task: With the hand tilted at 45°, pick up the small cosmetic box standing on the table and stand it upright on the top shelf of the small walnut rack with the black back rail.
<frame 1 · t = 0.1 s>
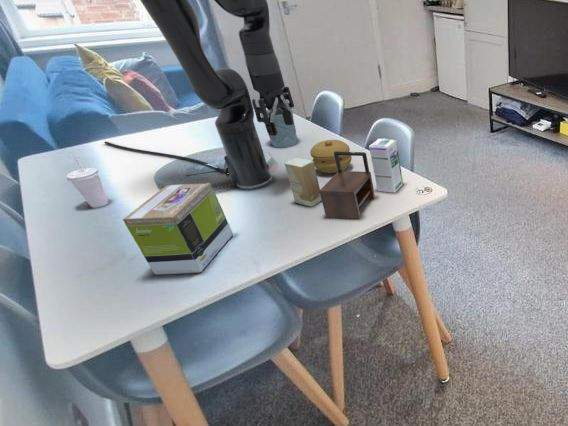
hand: (281, 129, 120), 17 cm above the table, tool pointing down, fingers open, 8 cm apart
pot: (334, 170, 137), on the table
blue-grey planter: (285, 143, 157), on the table
syrup box: (390, 188, 127), on the table
cosmetic box: (309, 202, 119), on the table
smoothie: (100, 205, 118), on the table
tea box: (196, 255, 98), on the table
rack: (351, 206, 117), on the table
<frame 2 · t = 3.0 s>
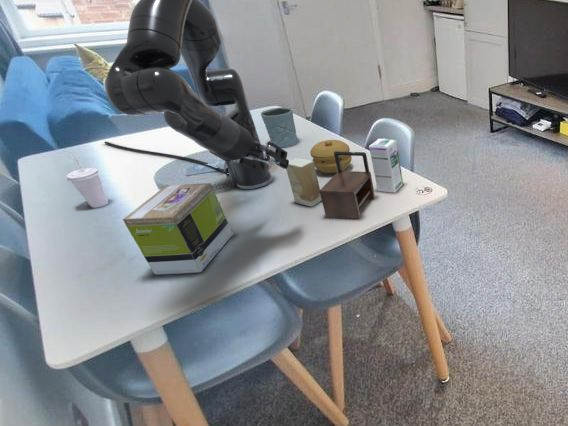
hand: (269, 164, 100), 17 cm above the table, tool tilted 45°, fingers open, 8 cm apart
nothing on the table moved.
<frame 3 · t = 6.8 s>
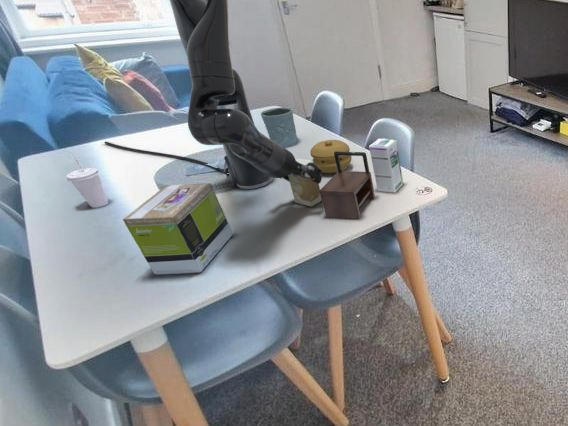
hand: (306, 179, 117), 6 cm above the table, tool tilted 45°, fingers closed on cosmetic box, 7 cm apart
cosmetic box: (309, 202, 119), on the table, touching gripper
everything else where it was.
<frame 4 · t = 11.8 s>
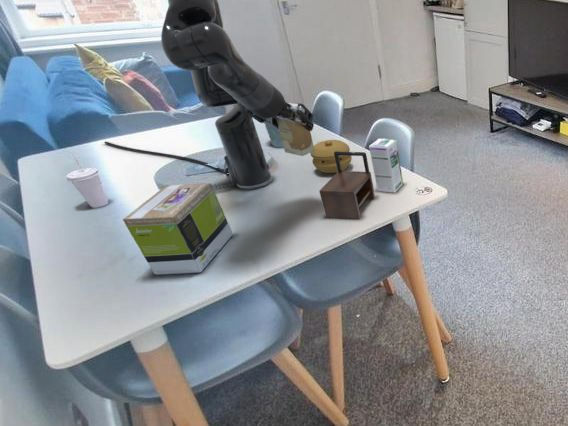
hand: (296, 127, 109), 22 cm above the table, tool tilted 45°, fingers closed on cosmetic box, 7 cm apart
cosmetic box: (300, 152, 111), point 15 cm above the table, touching gripper
everything else where it was.
when the fingers open (14 cm above the table, at t = 16.8 s): cosmetic box stays where it is, resting on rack.
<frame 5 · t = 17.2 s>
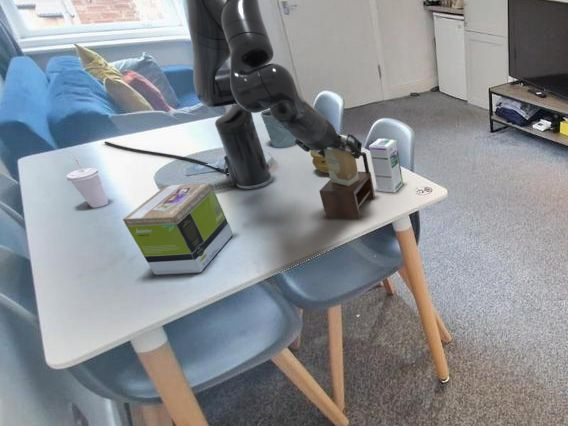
hand: (342, 154, 110), 15 cm above the table, tool tilted 45°, fingers open, 8 cm apart
cosmetic box: (345, 181, 113), point 8 cm above the table, touching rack
everything else where it was.
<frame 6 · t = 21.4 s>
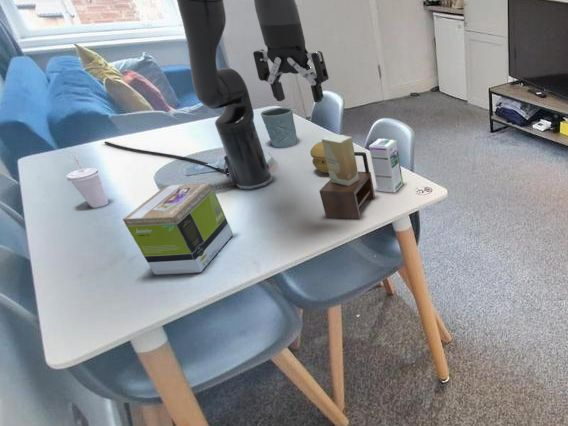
hand: (299, 100, 93), 32 cm above the table, tool pointing down, fingers open, 8 cm apart
nothing on the table moved.
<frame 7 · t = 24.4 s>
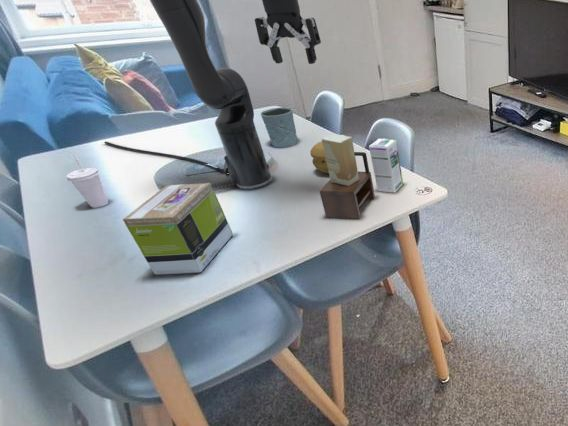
hand: (295, 63, 107), 36 cm above the table, tool pointing down, fingers open, 8 cm apart
nothing on the table moved.
at the end: cosmetic box 0.3 cm off-centre on the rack, point 7.8 cm above the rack's base; cosmetic box tilted 0°; the gripper is holding nothing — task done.
